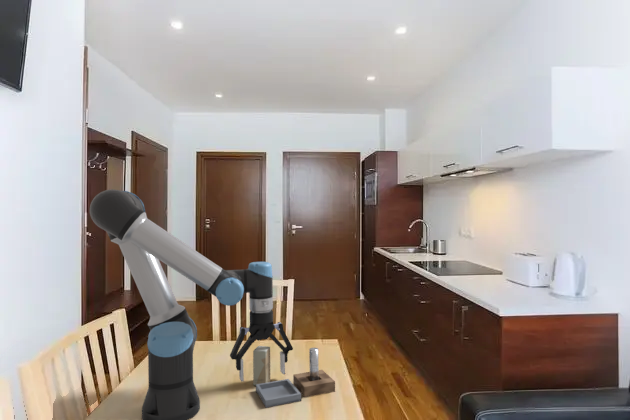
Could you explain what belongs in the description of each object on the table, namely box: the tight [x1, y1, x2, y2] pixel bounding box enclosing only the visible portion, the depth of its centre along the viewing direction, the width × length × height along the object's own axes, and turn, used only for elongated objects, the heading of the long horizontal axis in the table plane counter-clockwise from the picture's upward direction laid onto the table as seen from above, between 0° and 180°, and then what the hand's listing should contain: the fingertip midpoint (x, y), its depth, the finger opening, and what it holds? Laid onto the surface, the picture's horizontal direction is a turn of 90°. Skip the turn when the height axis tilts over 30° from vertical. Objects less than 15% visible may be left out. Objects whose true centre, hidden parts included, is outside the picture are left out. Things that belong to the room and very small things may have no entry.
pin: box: [308, 347, 320, 381], centre depth 128 cm, size 3×3×12 cm
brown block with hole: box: [292, 369, 336, 398], centre depth 128 cm, size 10×10×3 cm
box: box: [252, 345, 271, 386], centre depth 132 cm, size 5×4×11 cm
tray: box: [255, 378, 302, 408], centre depth 122 cm, size 11×12×2 cm
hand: (262, 376), depth 132 cm, fingers open, 13 cm apart
